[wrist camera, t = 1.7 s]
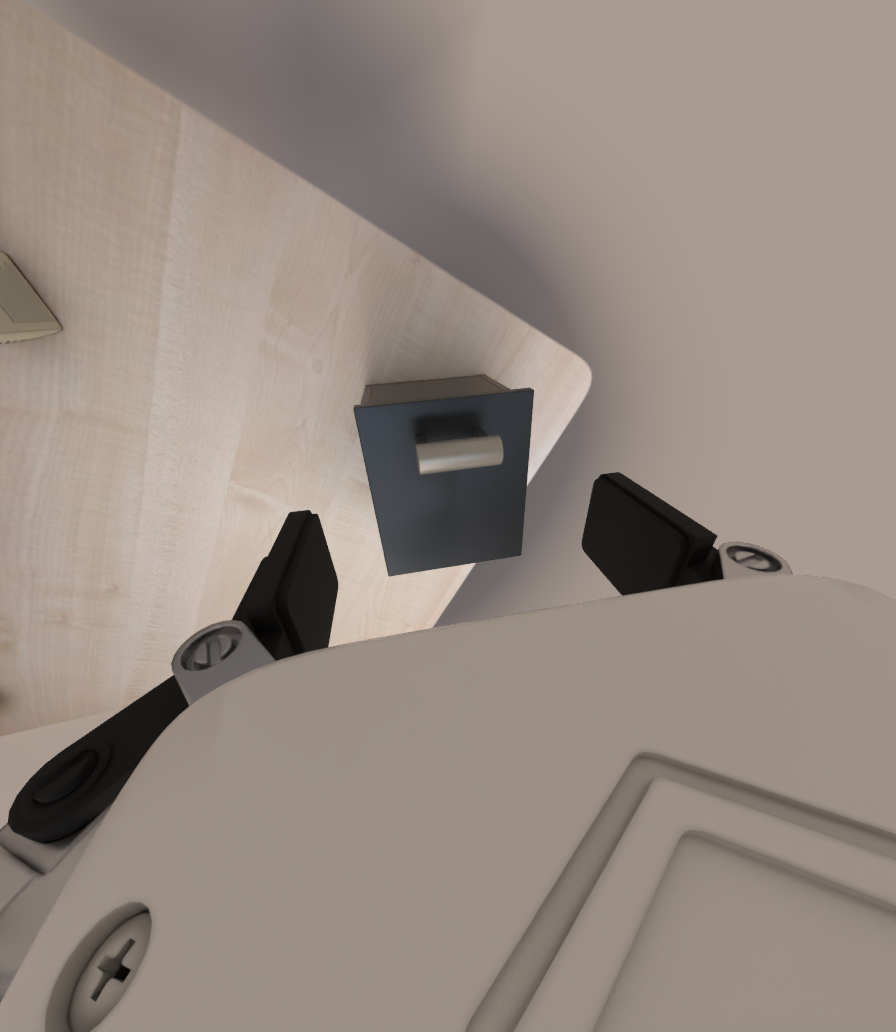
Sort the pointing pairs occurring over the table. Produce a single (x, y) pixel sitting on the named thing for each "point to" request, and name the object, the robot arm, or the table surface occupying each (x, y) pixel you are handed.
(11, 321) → the box
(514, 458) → the bin lid
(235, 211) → the table surface
